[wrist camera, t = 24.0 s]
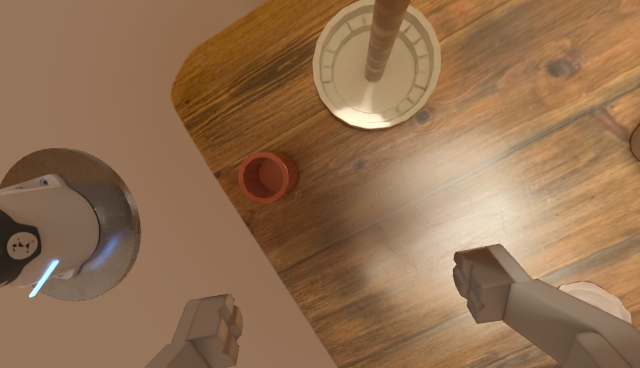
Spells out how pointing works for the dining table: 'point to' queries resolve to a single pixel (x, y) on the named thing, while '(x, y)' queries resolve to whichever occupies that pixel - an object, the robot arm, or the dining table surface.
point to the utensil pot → (267, 176)
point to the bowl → (397, 79)
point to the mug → (636, 143)
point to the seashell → (597, 298)
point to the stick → (383, 35)
